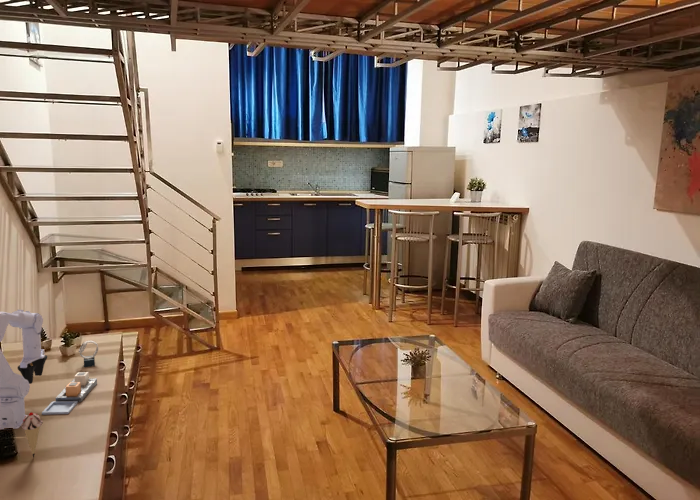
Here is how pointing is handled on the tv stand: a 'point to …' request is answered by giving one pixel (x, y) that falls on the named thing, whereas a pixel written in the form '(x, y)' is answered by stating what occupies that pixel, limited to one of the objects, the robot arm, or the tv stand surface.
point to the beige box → (82, 378)
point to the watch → (88, 360)
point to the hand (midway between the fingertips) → (33, 379)
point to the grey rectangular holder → (84, 392)
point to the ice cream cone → (32, 429)
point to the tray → (59, 407)
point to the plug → (73, 389)
